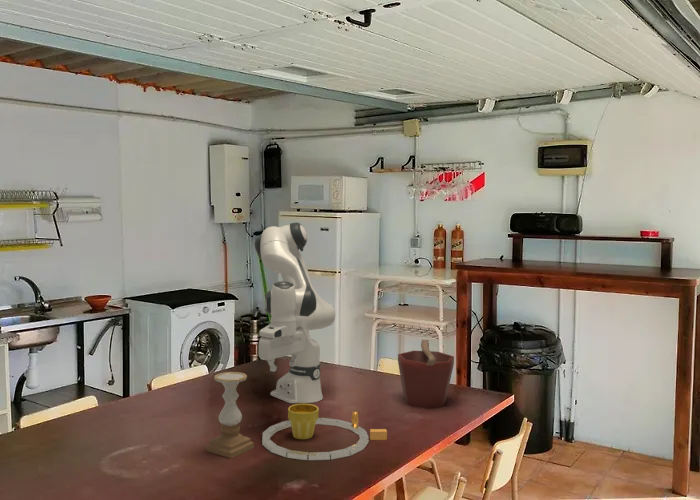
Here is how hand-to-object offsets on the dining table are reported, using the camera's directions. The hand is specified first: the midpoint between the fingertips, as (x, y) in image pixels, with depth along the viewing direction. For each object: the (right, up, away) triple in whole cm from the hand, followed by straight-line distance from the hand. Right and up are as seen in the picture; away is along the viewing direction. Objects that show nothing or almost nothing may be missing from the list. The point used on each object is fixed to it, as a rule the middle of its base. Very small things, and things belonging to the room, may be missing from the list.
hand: (283, 368), depth 217 cm
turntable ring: (+12, -22, -8) cm, 26 cm away
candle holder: (-15, -23, -18) cm, 32 cm away
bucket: (+53, -21, +37) cm, 68 cm away
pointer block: (+33, -23, -6) cm, 40 cm away
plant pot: (+7, -22, -5) cm, 24 cm away
